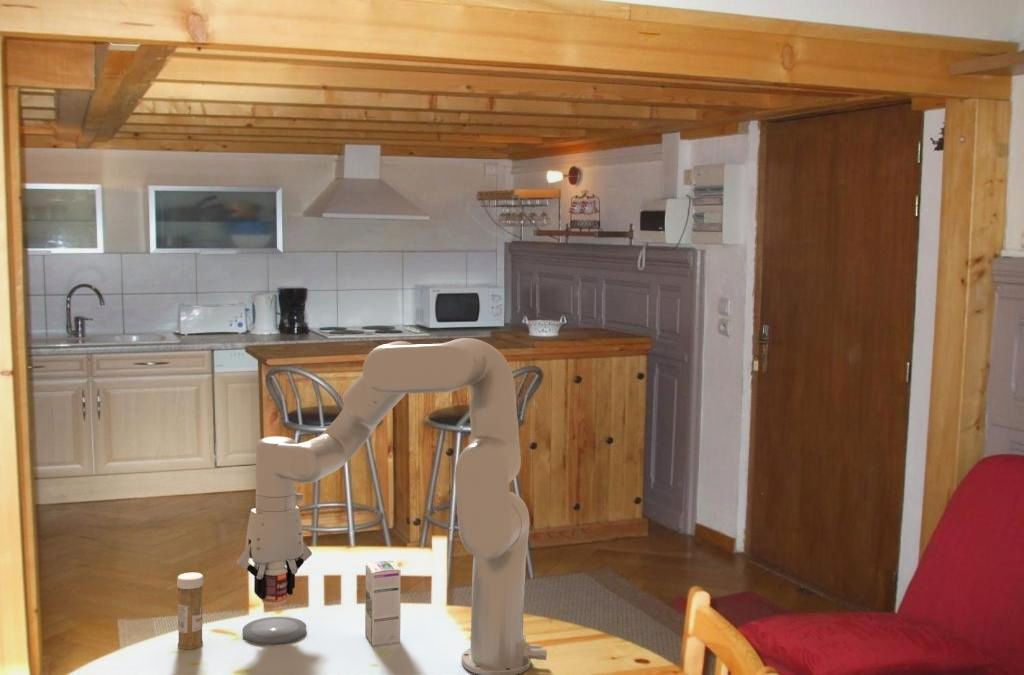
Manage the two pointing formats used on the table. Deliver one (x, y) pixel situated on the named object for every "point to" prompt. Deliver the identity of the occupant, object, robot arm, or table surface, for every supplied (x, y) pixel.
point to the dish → (274, 630)
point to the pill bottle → (275, 583)
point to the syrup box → (382, 603)
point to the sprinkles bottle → (190, 610)
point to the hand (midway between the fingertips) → (274, 593)
